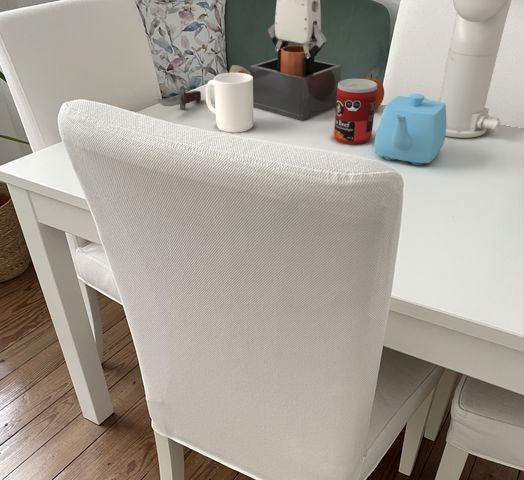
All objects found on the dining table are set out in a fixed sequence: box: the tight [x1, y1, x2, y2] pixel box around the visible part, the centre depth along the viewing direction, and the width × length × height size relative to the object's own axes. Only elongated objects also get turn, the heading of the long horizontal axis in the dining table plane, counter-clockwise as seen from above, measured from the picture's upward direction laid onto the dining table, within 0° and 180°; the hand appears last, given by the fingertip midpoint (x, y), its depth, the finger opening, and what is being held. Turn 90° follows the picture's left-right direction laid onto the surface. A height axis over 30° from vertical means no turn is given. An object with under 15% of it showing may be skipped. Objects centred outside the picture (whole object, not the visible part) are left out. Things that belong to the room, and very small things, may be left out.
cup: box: [205, 72, 255, 133], centre depth 125 cm, size 8×12×10 cm
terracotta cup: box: [280, 45, 310, 77], centre depth 133 cm, size 7×7×9 cm
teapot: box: [373, 93, 447, 166], centre depth 109 cm, size 12×18×12 cm
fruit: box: [364, 73, 385, 110], centre depth 133 cm, size 7×7×8 cm
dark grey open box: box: [249, 57, 342, 122], centre depth 135 cm, size 16×14×9 cm
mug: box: [228, 64, 250, 75], centre depth 143 cm, size 8×10×10 cm
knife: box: [156, 87, 202, 110], centre depth 134 cm, size 17×1×5 cm, turn 152°
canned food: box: [333, 78, 377, 146], centre depth 117 cm, size 8×8×11 cm
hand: (295, 71), depth 133 cm, fingers closed on terracotta cup, 6 cm apart
